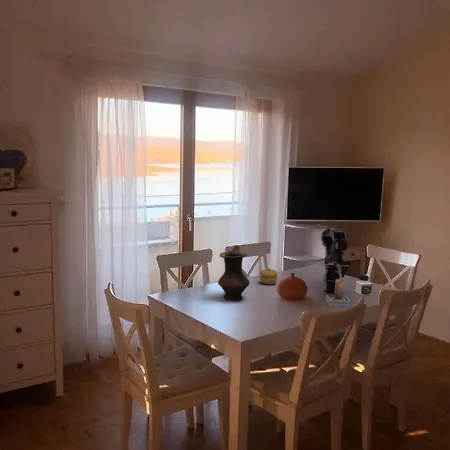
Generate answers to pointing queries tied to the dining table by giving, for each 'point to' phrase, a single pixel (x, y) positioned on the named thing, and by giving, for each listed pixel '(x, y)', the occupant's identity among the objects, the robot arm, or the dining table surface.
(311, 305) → the dining table surface
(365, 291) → the medicine bottle
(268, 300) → the dining table surface
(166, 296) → the dining table surface
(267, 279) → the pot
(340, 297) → the wooden spool
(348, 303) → the notched board
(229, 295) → the dark brown vase
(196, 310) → the dining table surface
